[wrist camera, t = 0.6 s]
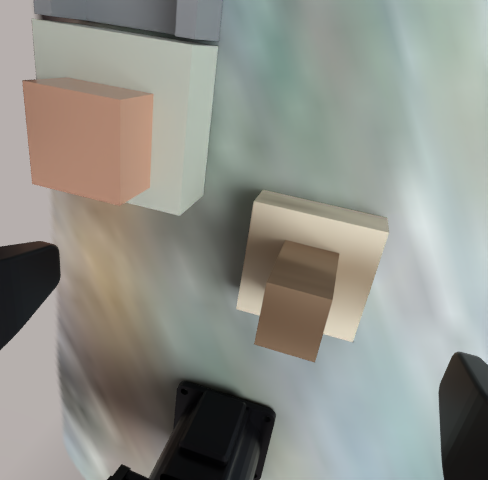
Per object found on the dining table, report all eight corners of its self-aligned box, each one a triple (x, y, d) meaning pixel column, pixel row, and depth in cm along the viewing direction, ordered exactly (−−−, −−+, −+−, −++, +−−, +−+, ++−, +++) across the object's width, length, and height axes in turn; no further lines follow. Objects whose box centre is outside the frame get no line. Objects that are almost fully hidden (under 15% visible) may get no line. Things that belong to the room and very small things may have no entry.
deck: (203, 195, 21) (179, 215, 18) (83, 167, 22) (44, 182, 20) (218, 46, 18) (192, 44, 15) (77, 23, 19) (31, 18, 17)
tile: (150, 187, 18) (119, 205, 16) (71, 168, 19) (32, 184, 17) (153, 93, 16) (120, 99, 14) (66, 77, 17) (22, 80, 15)
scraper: (354, 319, 22) (349, 403, 17) (246, 289, 23) (210, 359, 18) (387, 216, 19) (394, 277, 14) (263, 188, 20) (227, 235, 15)
